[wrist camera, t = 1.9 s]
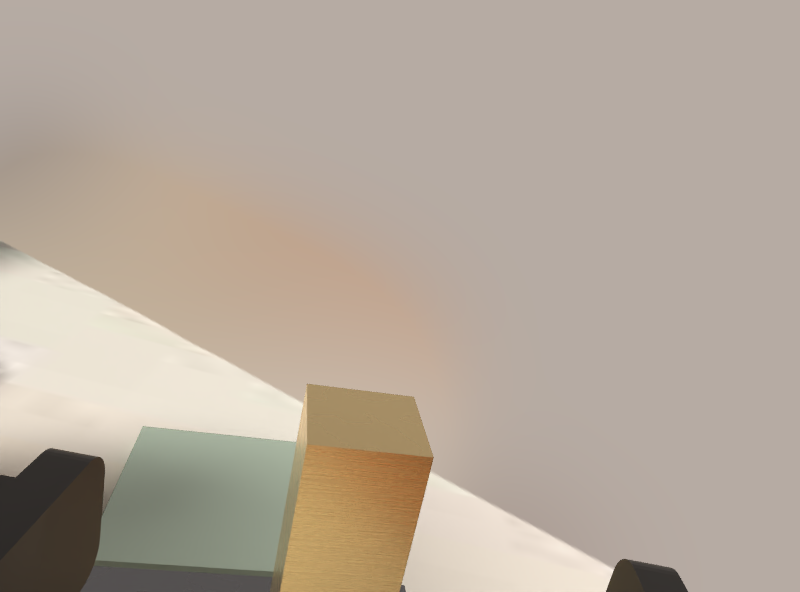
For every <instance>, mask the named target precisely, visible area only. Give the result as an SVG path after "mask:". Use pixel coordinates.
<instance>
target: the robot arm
mask: <svg viewBox="0 0 800 592" xmlns="http://www.w3.org/2000/svg"><path fill="white" fill-rule="evenodd" d="M104 476H105V465H104V461H103V459H102V458H100V457H95V456H90V455H85V454H79V453H74V452H69V451H64V450H58V449H53V448H50V449H47V450H45V451H44V452H43V453H42V454H41V455H39V456H38V457H37V458H36V459H35V460H34V461H33V462H32V463H31V464H30V465H29V466H28V467H27V468H26V469H24V470H23V471H22V472H21V473H20V474H19V475H18V476H17V477H16V478H15V477H9V476H4V475H0V592H80V591H81V589H82V588H83V586H84V585H85V583H86V581H87V579H88V577H89V575H90V573H91V571H92V568H93V566H94V563H95V560H96V557H97V553H98V549H99V544H100V532H101V518H102V504H103V490H104ZM606 592H688V591H687V589H686V587H685V585H684V584H683V582H682V580H681V578H680V576H679V575H678V573H677V572H676V571H675V570H674V569H672V568H669V567H663V566H659V565H654V564H648V563H642V562H638V561H632V560H627V559H622V560H620V561H619V562H618V563H617V565H616V567H615V569H614V571H613V574H612V577H611V579H610V582H609V585H608V588H607V591H606Z"/></svg>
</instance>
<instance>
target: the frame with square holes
mask: <svg viewBox="0 0 800 592" xmlns="http://www.w3.org/2000/svg"><path fill="white" fill-rule="evenodd" d="M271 583H272V577H263V576H247V575H231V574H215V573H199V572H184V571H168V570H152V569H136V568H120V567H104V566H93V568H92V571H91V573H90V575H89V577H88V579H87V581H86V583H85V585H84V586H83V588H82V589H81V591H80V592H270V588H271ZM399 592H406V591H405V586H404V585H401V587H400V591H399Z"/></svg>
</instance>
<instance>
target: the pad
mask: <svg viewBox="0 0 800 592" xmlns="http://www.w3.org/2000/svg"><path fill="white" fill-rule="evenodd" d="M295 448H296V442H290V441H280V440H270V439H261V438H251V437H242V436H232V435H222V434H213V433H203V432H194V431H184V430H174V429H165V428H155V427H146V426H143V427H142V430H141V432H140V434H139V436H138V438H137V441H136V443H135V445H134V447H133V449H132V451H131V454H130V456H129V458H128V460H127V462H126V465H125V467H124V469H123V471H122V473H121V476H120V478H119V480H118V482H117V484H116V486H115V489H114V491H113V493H112V495H111V497H110V500H109V502H108V504H107V506H106V508H105V511H104V513H103V515H102V518H101V532H100V544H99V549H98V553H97V557H96V560H95V563H94V566H104V567H120V568H136V569H152V570H168V571H184V572H199V573H215V574H231V575H247V576H263V577H273V571H274V566H275V560H276V555H277V549H278V543H279V538H280V532H281V527H282V521H283V515H284V510H285V504H286V499H287V493H288V487H289V482H290V476H291V470H292V465H293V459H294V454H295Z"/></svg>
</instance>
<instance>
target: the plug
mask: <svg viewBox="0 0 800 592" xmlns="http://www.w3.org/2000/svg"><path fill="white" fill-rule="evenodd" d="M433 458H434V457H433V454H432V451H431V448H430V445H429V442H428V439H427V436H426V433H425V430H424V427H423V424H422V420H421V417H420V414H419V411H418V408H417V405H416V402H415V399H414V397H410V396H402V395H394V394H386V393H378V392H370V391H361V390H352V389H345V388H336V387H328V386H320V385H312V384H307V387H306V393H305V398H304V403H303V409H302V414H301V420H300V426H299V431H298V437H297V442H296V448H295V454H294V459H293V465H292V470H291V476H290V482H289V487H288V493H287V499H286V504H285V510H284V515H283V521H282V527H281V532H280V538H279V543H278V549H277V555H276V560H275V566H274V571H273V577H272V583H271V588H270V592H399V591H400V587H401V584H402V580H403V576H404V572H405V568H406V564H407V560H408V556H409V552H410V548H411V544H412V540H413V536H414V533H415V529H416V525H417V521H418V517H419V513H420V509H421V505H422V501H423V497H424V493H425V489H426V485H427V481H428V478H429V474H430V470H431V466H432V462H433Z"/></svg>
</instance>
